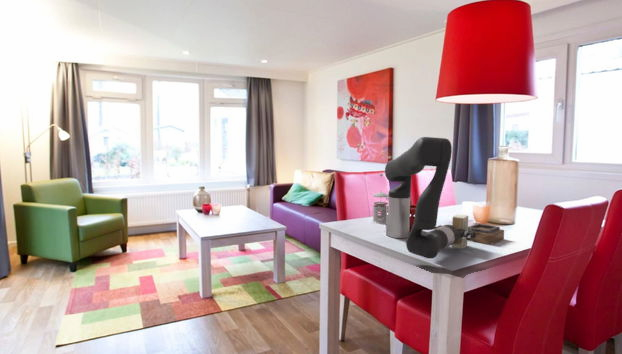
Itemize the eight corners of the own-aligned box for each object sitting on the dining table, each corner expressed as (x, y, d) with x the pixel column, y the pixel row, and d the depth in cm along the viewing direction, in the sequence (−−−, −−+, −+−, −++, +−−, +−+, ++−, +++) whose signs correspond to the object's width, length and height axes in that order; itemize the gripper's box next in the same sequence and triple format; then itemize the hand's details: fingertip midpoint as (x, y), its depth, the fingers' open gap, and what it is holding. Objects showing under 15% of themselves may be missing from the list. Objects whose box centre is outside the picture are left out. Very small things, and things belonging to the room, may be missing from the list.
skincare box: (456, 243, 152) (457, 214, 151) (467, 245, 150) (468, 215, 149) (451, 247, 147) (452, 216, 146) (462, 249, 145) (463, 217, 144)
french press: (367, 220, 198) (367, 173, 196) (385, 218, 203) (386, 172, 200) (378, 224, 189) (378, 174, 187) (396, 222, 194) (397, 173, 192)
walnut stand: (461, 239, 160) (462, 227, 159) (475, 234, 168) (476, 222, 168) (490, 244, 151) (490, 232, 150) (503, 239, 159) (504, 227, 159)
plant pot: (425, 235, 166) (425, 208, 165) (394, 234, 169) (395, 207, 168) (422, 228, 179) (423, 203, 178) (394, 227, 182) (394, 203, 181)
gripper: (463, 229, 132) (480, 222, 144) (426, 223, 142) (444, 217, 154) (463, 250, 133) (480, 241, 145) (425, 243, 143) (444, 235, 155)
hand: (462, 229), depth 149 cm, fingers open, 8 cm apart
